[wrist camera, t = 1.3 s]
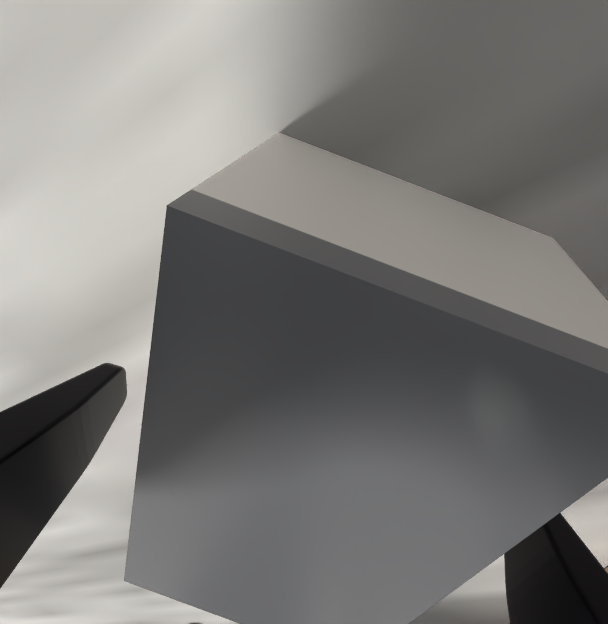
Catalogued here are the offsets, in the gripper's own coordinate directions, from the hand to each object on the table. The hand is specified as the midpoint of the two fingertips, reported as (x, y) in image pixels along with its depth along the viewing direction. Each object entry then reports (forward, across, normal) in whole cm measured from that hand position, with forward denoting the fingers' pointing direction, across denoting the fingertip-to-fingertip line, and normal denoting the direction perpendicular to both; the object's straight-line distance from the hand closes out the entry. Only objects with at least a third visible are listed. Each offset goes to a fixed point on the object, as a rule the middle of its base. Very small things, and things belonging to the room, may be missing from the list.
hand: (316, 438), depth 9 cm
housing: (+3, 0, 0) cm, 3 cm away
